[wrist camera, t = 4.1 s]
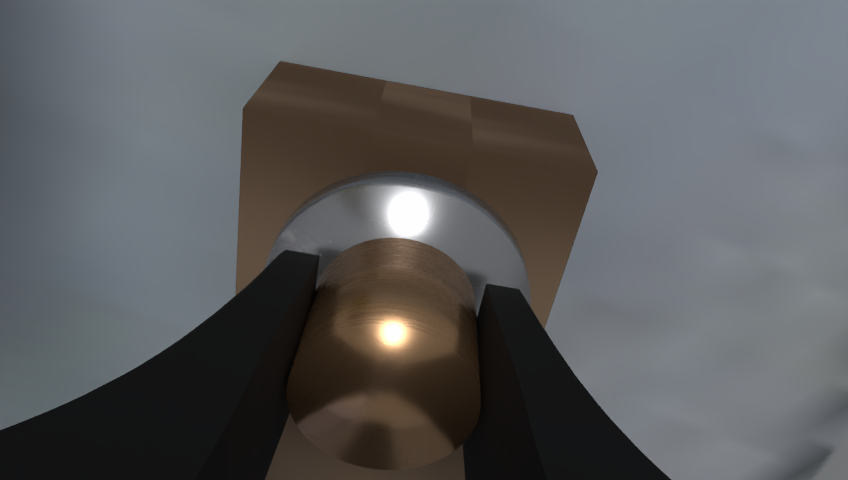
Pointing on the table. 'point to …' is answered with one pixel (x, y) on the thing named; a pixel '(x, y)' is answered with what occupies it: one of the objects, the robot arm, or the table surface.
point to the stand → (410, 152)
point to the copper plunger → (394, 315)
